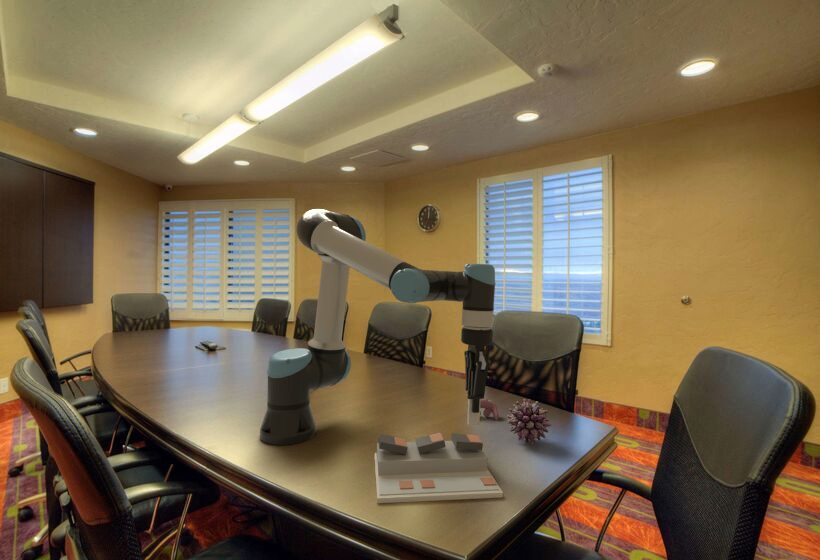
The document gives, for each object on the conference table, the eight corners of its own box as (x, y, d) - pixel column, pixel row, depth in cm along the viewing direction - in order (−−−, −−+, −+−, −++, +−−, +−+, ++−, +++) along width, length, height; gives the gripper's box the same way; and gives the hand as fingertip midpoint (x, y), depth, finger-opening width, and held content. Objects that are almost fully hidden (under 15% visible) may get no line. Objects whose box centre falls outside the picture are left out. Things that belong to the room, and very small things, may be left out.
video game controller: (496, 421, 128) (494, 399, 131) (500, 419, 124) (497, 397, 127) (466, 421, 127) (465, 399, 130) (469, 419, 123) (468, 397, 126)
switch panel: (377, 503, 77) (377, 483, 77) (374, 457, 97) (374, 441, 97) (502, 497, 80) (503, 478, 80) (475, 453, 100) (475, 438, 100)
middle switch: (419, 453, 90) (417, 446, 90) (416, 444, 94) (415, 438, 94) (445, 447, 90) (444, 440, 90) (441, 438, 95) (440, 431, 95)
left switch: (379, 448, 89) (381, 441, 89) (378, 439, 93) (380, 433, 93) (405, 454, 89) (407, 447, 89) (403, 445, 94) (405, 438, 94)
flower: (546, 455, 100) (547, 409, 100) (501, 444, 106) (502, 401, 106) (554, 439, 110) (554, 397, 110) (511, 430, 116) (512, 391, 116)
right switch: (455, 448, 91) (456, 440, 91) (451, 439, 96) (452, 432, 96) (482, 450, 92) (482, 443, 92) (476, 441, 96) (477, 435, 96)
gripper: (501, 331, 88) (497, 435, 88) (483, 324, 101) (480, 414, 101) (469, 331, 87) (465, 435, 87) (455, 323, 100) (452, 414, 100)
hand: (473, 424), depth 94 cm, fingers closed
